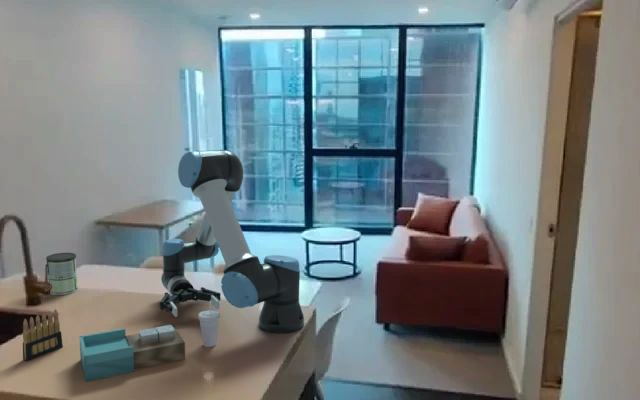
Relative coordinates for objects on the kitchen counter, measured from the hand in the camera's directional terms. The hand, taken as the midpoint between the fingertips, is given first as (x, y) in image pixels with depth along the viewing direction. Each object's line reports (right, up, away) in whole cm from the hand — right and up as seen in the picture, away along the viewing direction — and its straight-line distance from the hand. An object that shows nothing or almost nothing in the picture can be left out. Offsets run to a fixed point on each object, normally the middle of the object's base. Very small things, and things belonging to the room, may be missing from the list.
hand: (197, 308), depth 161 cm
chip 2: (-6, -5, -15) cm, 17 cm away
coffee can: (-61, -1, +36) cm, 71 cm away
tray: (-20, -11, -22) cm, 32 cm away
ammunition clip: (-41, -10, -16) cm, 45 cm away
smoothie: (+5, -9, -8) cm, 13 cm away
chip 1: (-10, -5, -17) cm, 21 cm away
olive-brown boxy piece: (-8, -10, -16) cm, 20 cm away
